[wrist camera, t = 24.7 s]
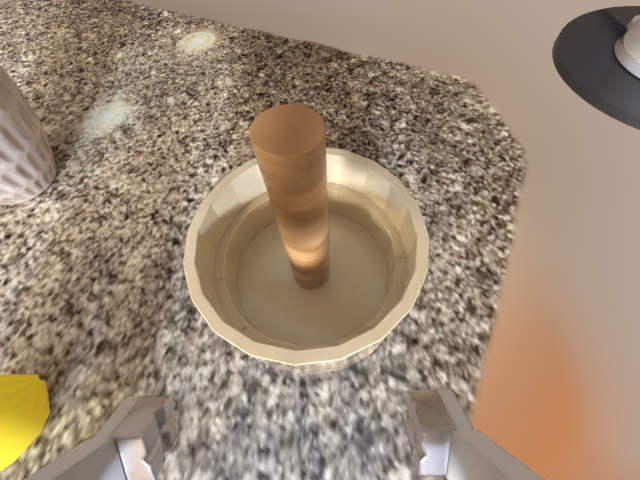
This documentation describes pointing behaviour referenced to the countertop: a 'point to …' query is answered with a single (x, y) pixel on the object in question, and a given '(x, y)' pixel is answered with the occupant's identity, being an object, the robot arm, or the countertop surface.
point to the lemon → (21, 414)
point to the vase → (22, 147)
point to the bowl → (277, 276)
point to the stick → (296, 185)
